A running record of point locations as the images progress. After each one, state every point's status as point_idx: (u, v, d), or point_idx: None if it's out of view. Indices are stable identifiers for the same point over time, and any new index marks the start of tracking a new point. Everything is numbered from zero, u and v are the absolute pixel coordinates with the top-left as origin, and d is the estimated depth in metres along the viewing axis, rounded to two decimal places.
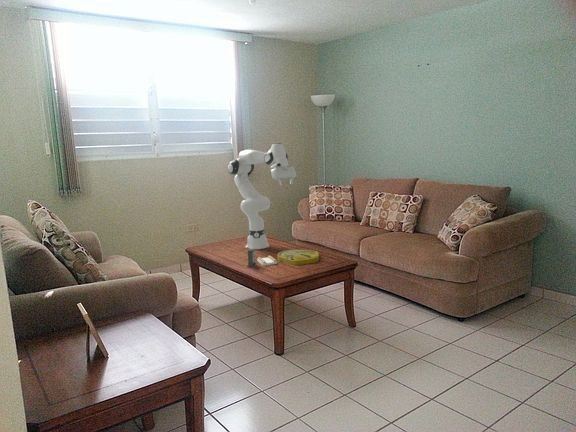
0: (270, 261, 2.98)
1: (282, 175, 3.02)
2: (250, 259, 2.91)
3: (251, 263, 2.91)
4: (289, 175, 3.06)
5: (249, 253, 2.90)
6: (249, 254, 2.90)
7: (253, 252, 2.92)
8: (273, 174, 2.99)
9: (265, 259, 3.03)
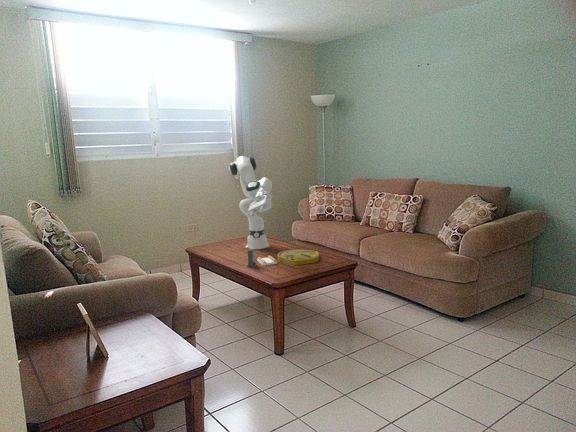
0: (270, 261, 2.98)
1: None
2: (250, 259, 2.91)
3: (251, 263, 2.91)
4: None
5: (249, 253, 2.90)
6: (249, 254, 2.90)
7: (253, 252, 2.92)
8: (268, 200, 2.93)
9: (265, 259, 3.03)
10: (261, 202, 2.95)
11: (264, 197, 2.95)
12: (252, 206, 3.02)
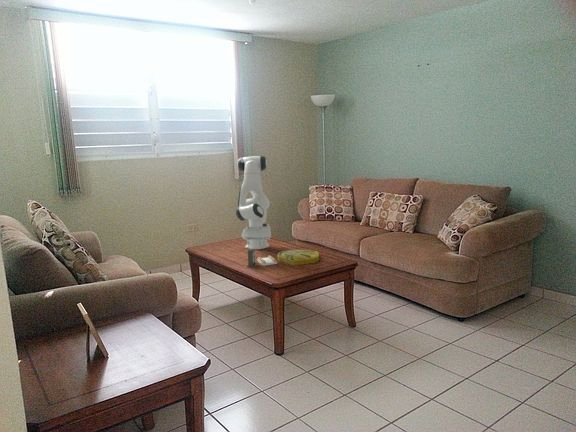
0: (270, 261, 2.98)
1: None
2: (250, 259, 2.91)
3: (251, 263, 2.91)
4: None
5: (249, 253, 2.90)
6: (249, 254, 2.90)
7: (253, 252, 2.92)
8: (270, 234, 3.01)
9: (265, 259, 3.03)
10: (262, 234, 3.00)
11: (265, 230, 3.01)
12: (248, 233, 3.02)
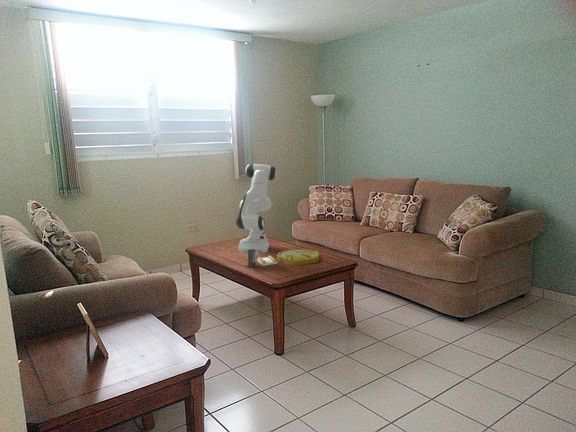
0: (270, 261, 2.98)
1: None
2: (250, 259, 2.91)
3: (251, 263, 2.91)
4: None
5: (249, 253, 2.90)
6: (249, 254, 2.90)
7: (253, 252, 2.92)
8: (267, 247, 2.94)
9: (265, 259, 3.03)
10: (259, 246, 2.94)
11: (263, 242, 2.95)
12: (244, 245, 2.96)
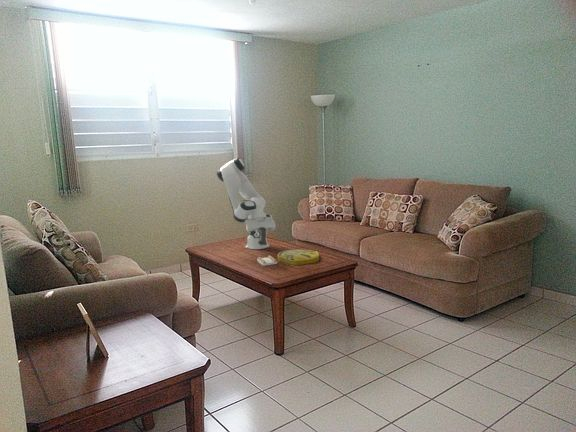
0: (270, 261, 2.98)
1: None
2: (263, 237, 2.95)
3: (264, 241, 2.95)
4: None
5: (263, 231, 2.94)
6: (263, 232, 2.94)
7: None
8: None
9: (265, 259, 3.03)
10: (268, 224, 3.00)
11: (270, 220, 3.03)
12: (253, 225, 2.97)
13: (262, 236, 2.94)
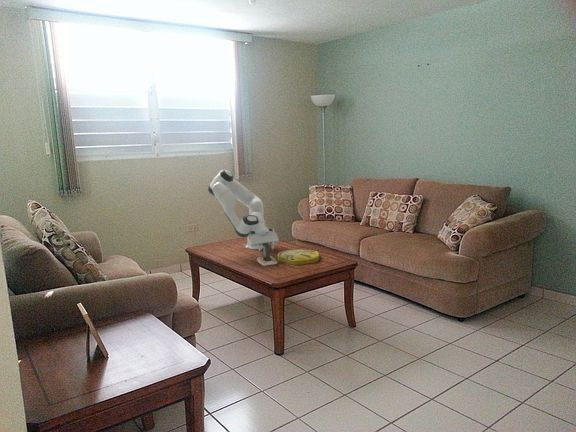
0: (270, 261, 2.98)
1: None
2: (268, 253, 2.98)
3: (269, 257, 2.98)
4: None
5: (267, 247, 2.97)
6: (267, 248, 2.97)
7: None
8: None
9: None
10: (271, 238, 3.03)
11: (272, 234, 3.05)
12: (257, 240, 2.99)
13: (266, 253, 2.97)
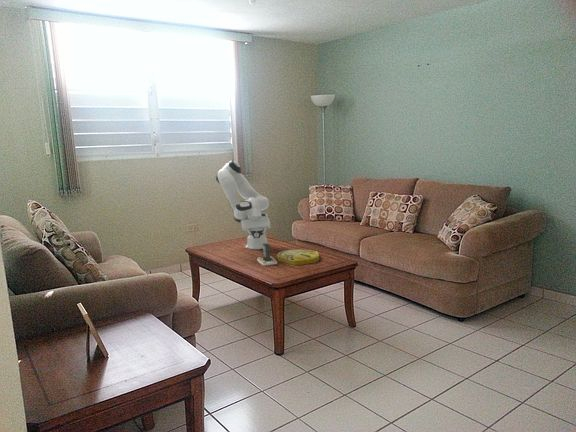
0: (270, 261, 2.98)
1: None
2: (268, 253, 2.98)
3: (269, 257, 2.98)
4: None
5: (267, 247, 2.97)
6: (267, 248, 2.97)
7: None
8: None
9: None
10: (263, 223, 3.06)
11: (265, 219, 3.08)
12: (248, 224, 3.05)
13: (266, 253, 2.97)
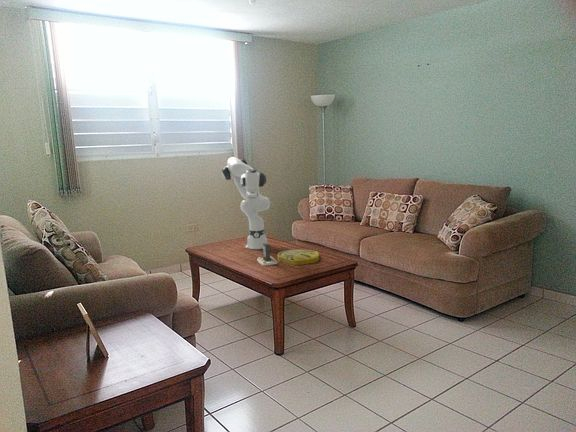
0: (270, 261, 2.98)
1: None
2: (268, 253, 2.98)
3: (269, 257, 2.98)
4: None
5: (267, 247, 2.97)
6: (267, 248, 2.97)
7: None
8: (252, 204, 2.92)
9: None
10: None
11: None
12: None
13: (266, 253, 2.97)
